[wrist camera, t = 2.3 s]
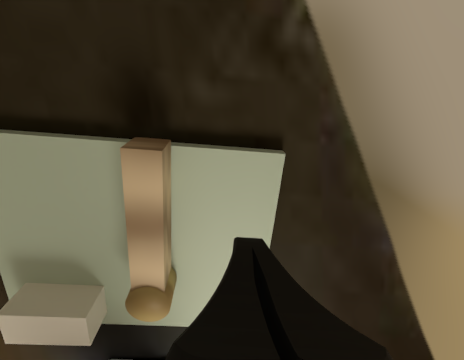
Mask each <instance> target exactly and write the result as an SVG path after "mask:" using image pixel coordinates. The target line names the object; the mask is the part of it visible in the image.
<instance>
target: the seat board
mask: <svg viewBox="0 0 464 360" xmlns="http://www.w3.org/2000/svg"><path fill="white" fill-rule="evenodd" d="M130 140H132V139H122V138H109V137H95V136H82V135H69V134H55V133H42V132H28V131H15V130H2V129H0V273H1V276H2V279H3V283H4V286H5V289H6V292H7V295H8V299H9V300H10V299H11V298H12V297H13V296H14V295H15V294H16V293H17V292H18V291H19V290H20V288H21V287H22V286H23V285H24V284H25V283H47V284H72V285H96V286H104V290H105V298H106V306H107V313H106V315H105V317H104V319H103V321H102V323H101V324H124V325H155V326H185V327H189V326H190V324H191V323H192V322H193V321H194V320H195V318H196V317H197V316H198V315H199V313H200V312H201V311H202V310H203V308H204V307H205V306H206V304H207V303H208V301H209V300H210V298H211V297H212V295H213V294H214V292H215V290H216V289H217V287H218V285H219V283H220V281H221V279H222V278H223V275H224V273H225V271H226V269H227V266H228V264H229V261H230V258H231V255H232V252H233V242H234V238H236V237H245V238H262V239H263V240H264V242H265V243H266V244H267V246H268V247H269V249H270V243H271V237H272V231H273V225H274V219H275V213H276V207H277V201H278V195H279V189H280V183H281V178H282V172H283V166H284V160H285V153H284V152H283V150H270V149H256V148H243V147H229V146H216V145H203V144H189V143H176V142H171V267H172V268H173V269H174V271H175V272H176V275H177V281H176V285H175V290H174V294H173V299H172V303H171V307H170V311H169V313H168V315H167V316H166V317H164V318H163V319H161V320H158V321H154V322H145V321H140V320H138V319H136V318H134V317H132V316H131V315H130V314H129V313H128V312H127V310H126V307H125V301H126V298H127V296H128V293H129V291H130V289H131V281H130V269H129V256H128V243H127V231H126V218H125V205H124V193H123V180H122V167H121V154H120V148H121V147H122V146H123V145H125V144H126V143H128V142H129V141H130Z"/></svg>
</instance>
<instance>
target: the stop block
mask: <svg viewBox="0 0 464 360" xmlns="http://www.w3.org/2000/svg"><path fill="white" fill-rule="evenodd" d="M106 313H107V306H106V298H105V290H104V286H96V285H72V284H47V283H25V284H24V285H23V286H22V287H21V288H20V290H19V291H18V292H17V293H16V294H15V295H14V296H13V297H12V298H11V299H10V300H9V301H8V302H7V303H6V304H5V305H4V307H3V308H2V309H1V310H0V330H1V333H2V335H3V338H4V341H5V344H37V345H73V346H91V344H92V342H93V340H94V338H95V336H96V334H97V332H98V330H99V328H100V326H101V323H102V321H103V319H104V317H105V315H106Z"/></svg>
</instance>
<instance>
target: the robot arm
mask: <svg viewBox="0 0 464 360" xmlns="http://www.w3.org/2000/svg"><path fill="white" fill-rule="evenodd" d="M110 360H131V359H110ZM165 360H393V358H392V357H391V355H390V354H389V352H388V351H387V350H386V348H385V347H383V346H381V345H380V344H378V343H376V342H375V341H373V340H371V339H370V338H368V337H366V336H365V335H363V334H361V333H360V332H358V331H356V330H355V329H353V328H352V327H350V326H349V325H347V324H346V323H345V322H343V321H342V320H340V319H339V318H337V317H336V316H335V315H333V314H332V313H331V312H329V311H328V310H327V309H326V308H324V307H323V306H322V305H321V304H319V303H318V302H317V301H316V300H315V299H314V298H312V297H311V296H310V295H309V294H308V293H307V292H306V291H305V290H304V289H303V288H302V287H301V286H300V285H299V284H298V283H297V282H296V281H295V280H294V279H293V278H292V277H291V276H290V274H289V273H288V272H287V271H286V270H285V268H284V267H283V266H282V265H281V263H280V262H279V261H278V260H277V258H276V257H275V256H274V254H273V253H272V252H271V250H270V249H269V247H268V246H267V244H266V243H265V242H264V240H263V239H262V238H245V237H236V238H234V242H233V252H232V255H231V258H230V261H229V264H228V266H227V269H226V271H225V273H224V275H223V278H222V279H221V281H220V283H219V285H218V287H217V289H216V290H215V292H214V294H213V295H212V297H211V298H210V300H209V301H208V303H207V304H206V306H205V307H204V308H203V310H202V311H201V312H200V313H199V315H198V316H197V317H196V318H195V320H194V321H193V322H192V323H191V324H190V326H189V327H188V328H187V329H186V330H185V331H184V332H183V333H182V334H181V335H180V336H179V337H178V338H177V339H176V340H175V341H174V343H173V345H172V347H171V349H170V350H169V352H168V354H167V357H166V359H165Z"/></svg>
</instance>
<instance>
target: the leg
mask: <svg viewBox="0 0 464 360" xmlns="http://www.w3.org/2000/svg"><path fill="white" fill-rule="evenodd" d="M120 154H121V167H122V180H123V193H124V205H125V218H126V231H127V243H128V256H129V269H130V281H131V289H130V291H129V293H128V296H127V298H126V301H125V307H126V310H127V312H128V313H129V314H130V315H131V316H132V317H134V318H136V319H138V320H140V321H145V322H154V321H158V320H161V319H163V318H164V317H166V316H167V315H168V313H169V311H170V307H171V303H172V299H173V294H174V290H175V285H176V281H177V275H176V272H175V271H174V269H173V268H172V267H171V140H168V139H154V138H141V137H134V138H133V139H132V140H130V141H129V142H128V143H126V144H125V145H123V146H122V147H121V148H120Z"/></svg>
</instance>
